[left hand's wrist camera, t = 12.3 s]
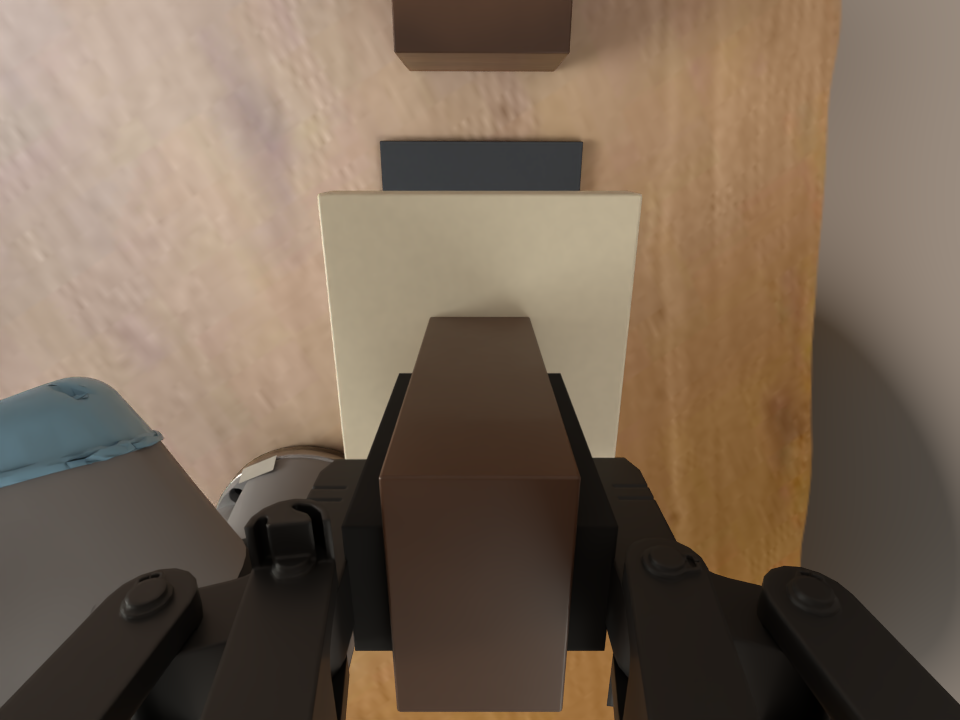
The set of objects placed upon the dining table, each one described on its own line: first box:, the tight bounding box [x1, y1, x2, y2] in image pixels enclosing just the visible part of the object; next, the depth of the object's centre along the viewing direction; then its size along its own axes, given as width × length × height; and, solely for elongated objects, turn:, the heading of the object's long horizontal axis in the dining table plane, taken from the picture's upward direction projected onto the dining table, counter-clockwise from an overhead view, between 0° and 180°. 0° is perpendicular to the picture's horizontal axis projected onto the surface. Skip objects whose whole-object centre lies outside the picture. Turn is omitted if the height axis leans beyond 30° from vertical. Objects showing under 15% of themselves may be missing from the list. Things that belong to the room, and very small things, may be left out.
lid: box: [317, 191, 642, 712], centre depth 13 cm, size 12×9×10 cm
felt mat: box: [380, 141, 583, 191], centre depth 37 cm, size 16×13×1 cm
